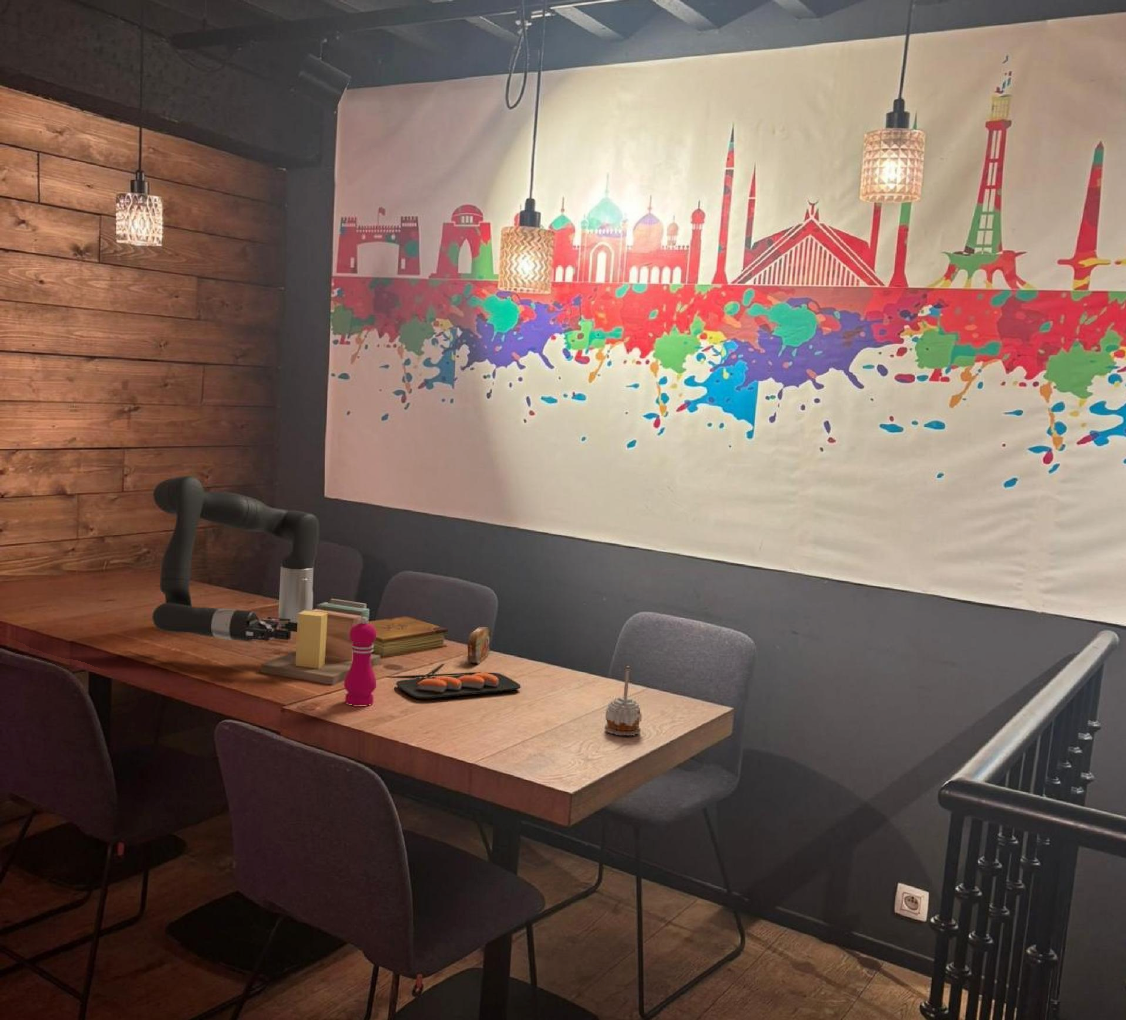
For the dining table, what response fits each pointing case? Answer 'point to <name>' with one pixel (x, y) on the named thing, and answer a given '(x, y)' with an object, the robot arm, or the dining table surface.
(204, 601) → the dining table surface
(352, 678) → the pepper mill
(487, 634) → the tin
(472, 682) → the sushi plate
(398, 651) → the diary
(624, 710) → the caramel apple
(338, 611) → the blocks on base plate
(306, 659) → the tall mustard yellow pillar
